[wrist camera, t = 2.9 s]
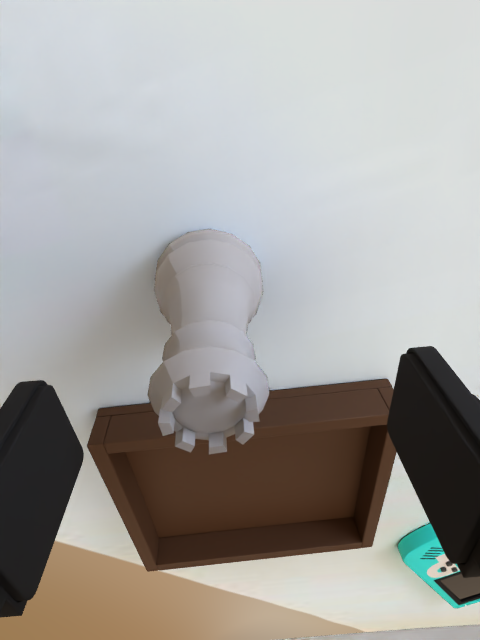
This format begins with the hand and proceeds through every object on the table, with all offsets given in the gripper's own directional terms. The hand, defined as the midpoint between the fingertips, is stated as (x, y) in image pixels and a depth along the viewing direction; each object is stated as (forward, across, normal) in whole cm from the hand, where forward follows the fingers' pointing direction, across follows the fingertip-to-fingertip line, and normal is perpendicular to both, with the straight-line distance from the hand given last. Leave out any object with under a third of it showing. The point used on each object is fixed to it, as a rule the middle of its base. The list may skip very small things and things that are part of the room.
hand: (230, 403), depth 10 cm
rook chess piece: (+7, +1, 0) cm, 7 cm away
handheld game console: (+8, -19, +29) cm, 36 cm away
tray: (+7, 0, +14) cm, 15 cm away
